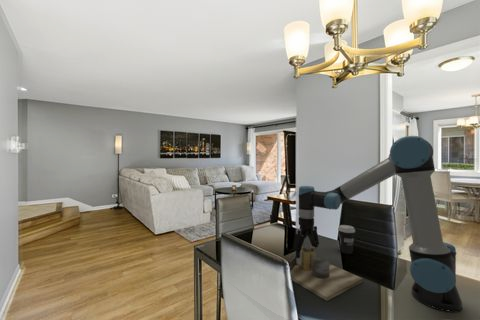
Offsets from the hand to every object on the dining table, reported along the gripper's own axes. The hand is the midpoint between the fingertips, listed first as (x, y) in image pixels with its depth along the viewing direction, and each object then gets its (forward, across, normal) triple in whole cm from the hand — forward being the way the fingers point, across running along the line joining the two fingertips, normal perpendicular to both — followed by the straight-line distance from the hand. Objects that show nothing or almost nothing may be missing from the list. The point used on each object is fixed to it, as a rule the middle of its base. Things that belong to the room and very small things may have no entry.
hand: (306, 261), depth 115 cm
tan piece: (+3, 0, 0) cm, 3 cm away
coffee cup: (+4, -38, -2) cm, 39 cm away
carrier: (+4, 0, +8) cm, 10 cm away
